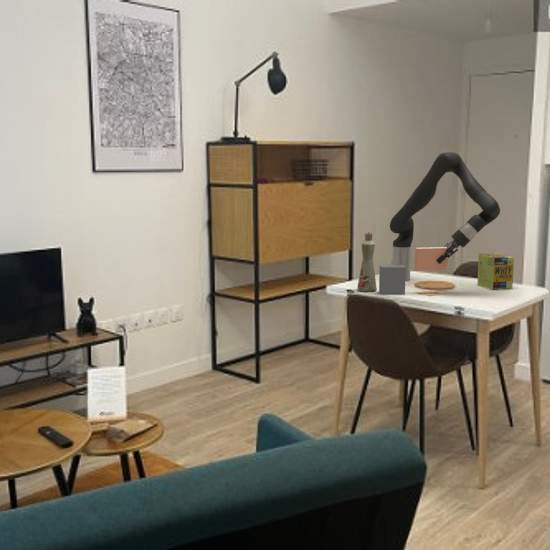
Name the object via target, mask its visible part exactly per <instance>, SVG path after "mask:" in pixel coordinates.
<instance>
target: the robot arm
mask: <svg viewBox="0 0 550 550" xmlns="http://www.w3.org/2000/svg"><path fill="white" fill-rule="evenodd" d="M447 173H453V174H454V175H456V176H457V177H458V179H459V180H460V182H461V184H462V187H463V189H464V191H465V193H466V194H467V196H468V197H469V198H470V199H471V200H472V202H474V203H475V204H477V205H478V206H479V207H480V209H481V211H480V212H479V214H478V213H477V214H473V216H471V217H470V218H469V219H468V220H467V221H466V222H465V223H463V224H462V225H461V226H460V227H459V228H458V229H457V230H455V232H454V233H453V234H451V239H452V241H449V242H447V243H446V244H445V245H444V246H443V247H447V249H446V250H445V252H444V253H443V254H442V255H441V256H440V257H439V258H438V259H437V262H438V263H439V264H440V263H441V262H443V261H444V260H445V259H446V258H448V259H449V258H450V257H452V256H453V255H454V254H455V253H457V251H459V249H458V248H459V247H461V248H464V247H466V246H467V245H469V243H470V242H472V240H473V239H474V238H475V237H476V235H478V233H479V232H481V231H482V230H483V228H484V227H485V226H488V225H489V224H490V223H492V222H493V221H495V220H496V219H497V218H498V217H499V215H500V213H501V208H500V205H499V203H498V202H497V200H496V199H495V198H494V197H493V196H492V195H491V194H490V193H488V192H487V189H486V188H484V187H483V186H482V185H481V184H480V183H479V181H477V179H476V178H475V177H474V176H473V175H474V174H472V173H471V171H470V170H469V168H468V166H467V164H465V162H464V160H463V158H462V157H461V156H460V154H458V153H457V152H453V151H451V152H449V151H448V152H441V153H440V154H438V155H437V157H436V158H435V160H434V161H433V163H432V165H431V167H430V169H429V170H428V172H427V173H426V175H425V176H424V178H423V179H422V180H421V182H420V183H419V184H418V186H416V188H415V189H414V190H413V192H412V194H411V195H410V197H408V199H407V200H406V202H405V203H404V204H403V206H402V207H401V208H400V209H399V210H398V211H397V212H396V213H395V214H394V215H393V217H392V218H391V220H390V222H389V229H390V231H391V232H392V233H393V234H397V235H398V236H397V238H395V240H393V241H392V260H391V263H390V265H404V266H405V267H406V278H405V281H410V280H411V263H412V261H411V260H412V258H411V257H412V253H411V252H412V243H413V239H414V229H415V228H414V227H415V226H414V224H415V223H414V219H413V216H414V215H415V214H417V213H419V212H420V211H421V210H422V209H424V208H425V207H427V205H429V203H430V202H431V200H433V198H434V197H435V196H436V192H437V190H438V189H437V187H438V184H439V181H440V180H441V179H442V177H444V175H446V174H447ZM447 253H448V254H447Z"/></svg>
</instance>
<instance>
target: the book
mask: <svg viewBox="0 0 550 550" xmlns="http://www.w3.org/2000/svg"><path fill="white" fill-rule="evenodd" d="M446 249H447V247H444V246H440V247H439V246H435V247H434V246H433V247H431V246H430V247H415V249H414V271H417V272H418V271H448V259H449V258H446V259H445V260H444V261H443V262H441V263H440V264H439V263H438V262H437V259H438V258H439V257H440V256H441V255H442V254H443V253H444V252H445V250H446ZM447 254H448V253H447Z"/></svg>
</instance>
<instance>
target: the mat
mask: <svg viewBox="0 0 550 550" xmlns="http://www.w3.org/2000/svg"><path fill="white" fill-rule="evenodd" d="M414 293H415V294H418V295H422V296H426V297H434V296H435V295H436V296H442V295H443V294H444V295H446V293H444V292H439V291H436V290H423V291H422V290H421V291H415V292H414ZM444 295H443V296H444Z"/></svg>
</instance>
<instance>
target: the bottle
mask: <svg viewBox="0 0 550 550" xmlns="http://www.w3.org/2000/svg"><path fill="white" fill-rule="evenodd" d="M372 239H373V232H370V231H368V232H365V233H364V240H363V241H362V243H361V250H362V259H361V260H362V261H361V266H360V271H359V276H358V281H357V282H358V283H357V291H359V292H361V293H373V292H376V291H377V290H378V288H377V280H376V275H375V274H376V273H375V267H374V264H375V263H374V251H375V247H376V243H375V242H374V241H373V240H372Z"/></svg>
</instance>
